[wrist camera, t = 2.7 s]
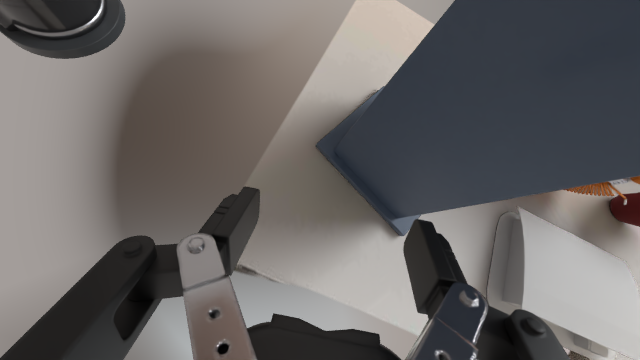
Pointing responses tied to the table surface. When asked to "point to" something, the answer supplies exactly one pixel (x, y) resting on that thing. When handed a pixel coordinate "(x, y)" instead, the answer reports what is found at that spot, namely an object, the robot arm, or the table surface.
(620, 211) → the mug
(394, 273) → the table surface
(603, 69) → the blue tapered column stand
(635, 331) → the book
